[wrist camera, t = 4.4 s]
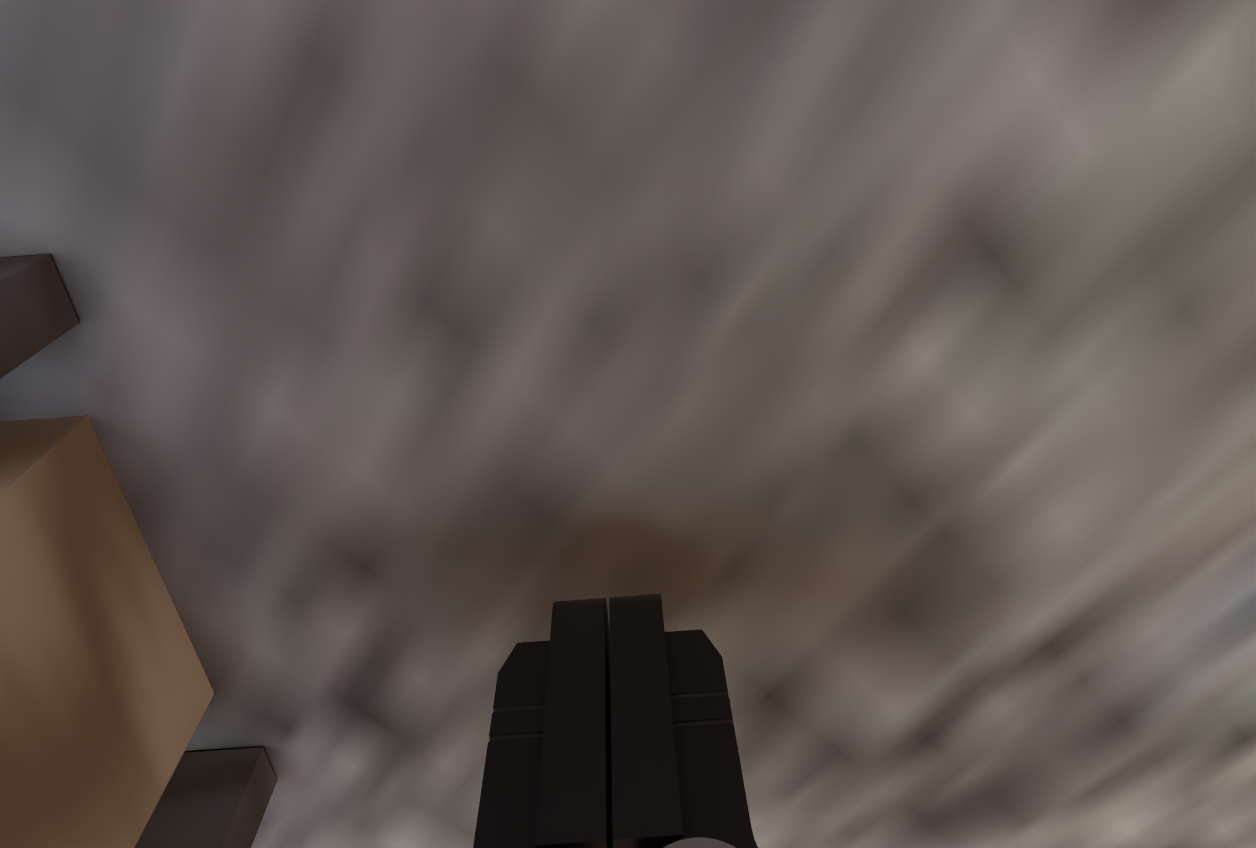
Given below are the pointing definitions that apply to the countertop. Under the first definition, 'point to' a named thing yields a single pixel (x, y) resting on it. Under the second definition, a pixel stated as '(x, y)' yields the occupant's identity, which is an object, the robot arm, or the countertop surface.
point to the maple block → (83, 649)
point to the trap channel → (202, 781)
